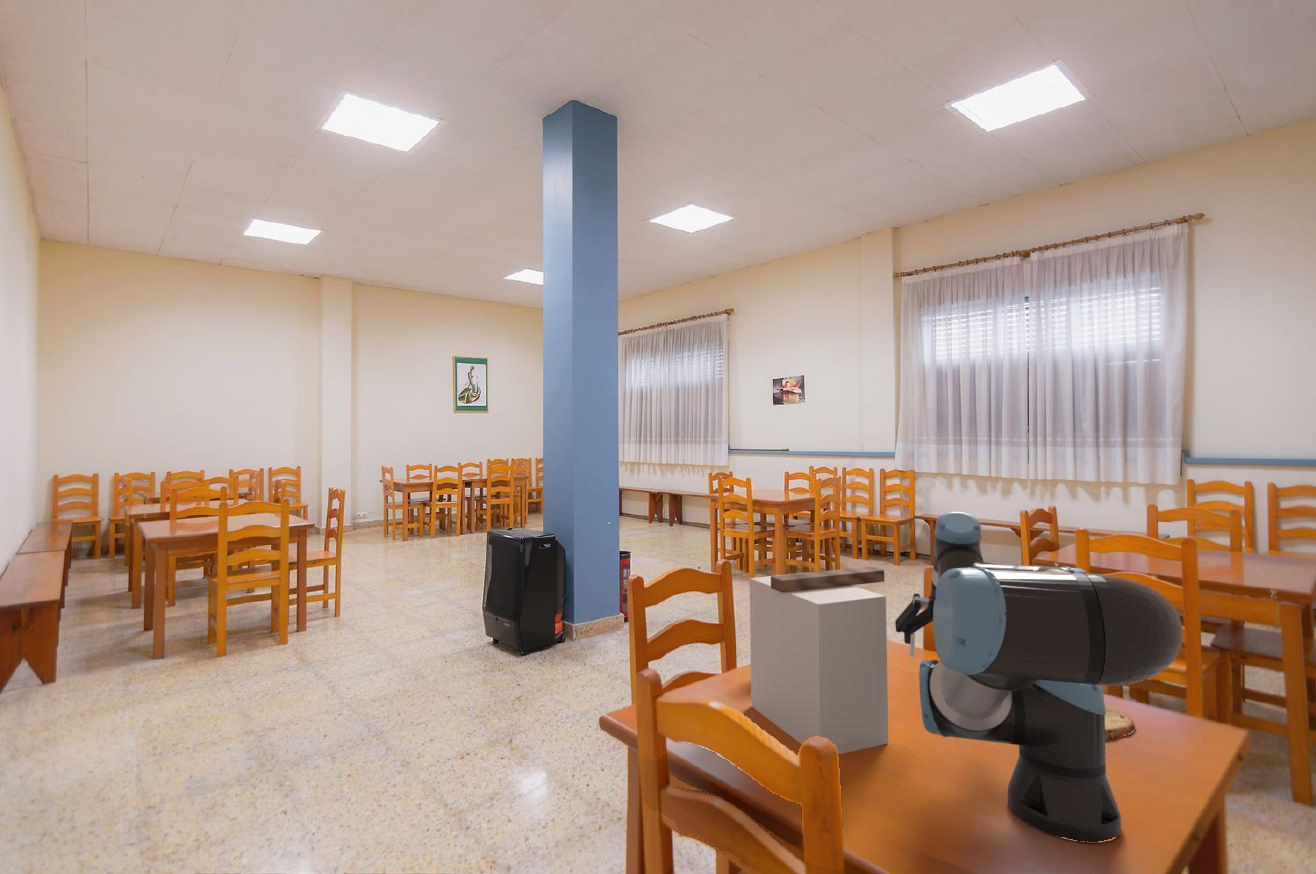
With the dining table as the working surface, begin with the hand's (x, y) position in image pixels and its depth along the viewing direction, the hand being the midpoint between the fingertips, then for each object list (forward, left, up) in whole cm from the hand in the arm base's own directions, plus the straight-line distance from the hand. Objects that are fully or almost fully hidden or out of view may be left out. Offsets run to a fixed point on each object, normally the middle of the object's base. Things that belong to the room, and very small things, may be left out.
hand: (946, 655), depth 132 cm
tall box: (-7, +26, -15) cm, 31 cm away
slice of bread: (+9, -27, -15) cm, 32 cm away
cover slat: (-4, +23, +14) cm, 28 cm away
